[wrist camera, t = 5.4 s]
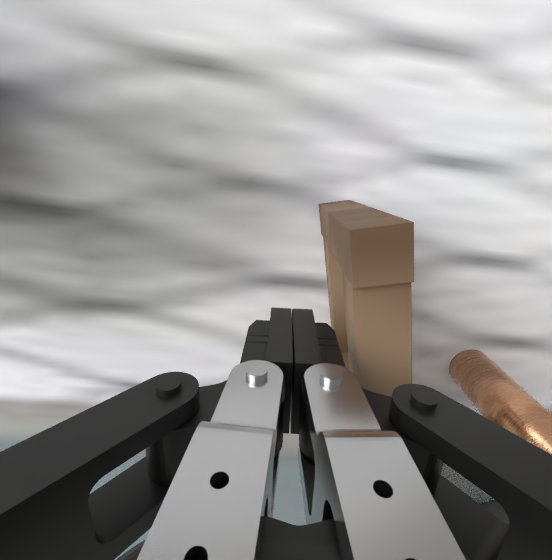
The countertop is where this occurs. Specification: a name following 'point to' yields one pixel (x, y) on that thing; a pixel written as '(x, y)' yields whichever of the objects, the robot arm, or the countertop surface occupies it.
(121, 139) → the countertop surface
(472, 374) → the post
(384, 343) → the gate
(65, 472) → the robot arm
